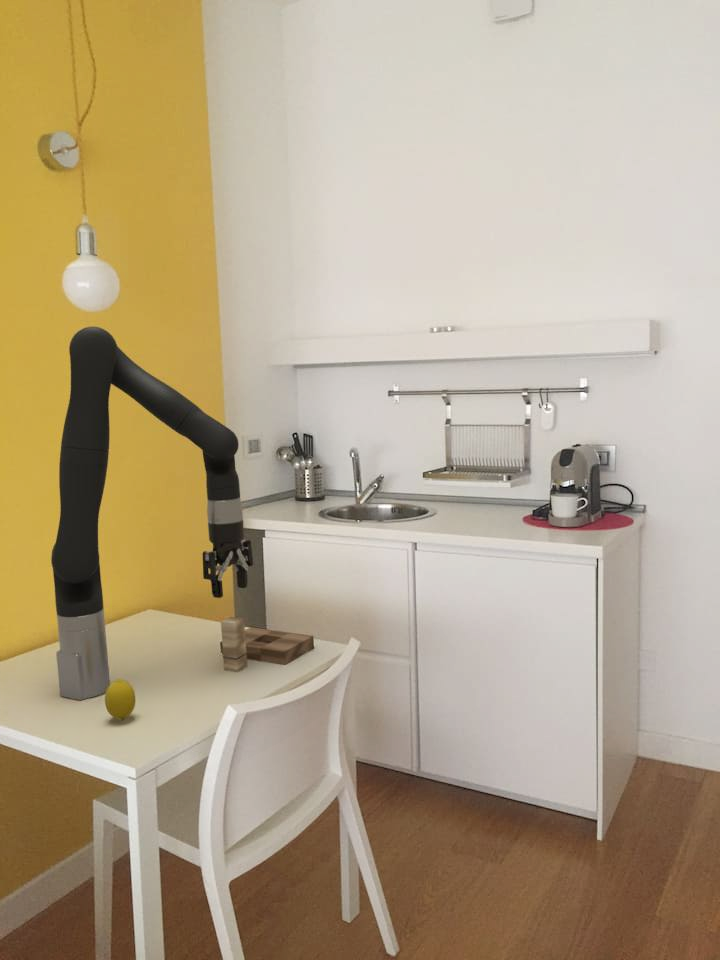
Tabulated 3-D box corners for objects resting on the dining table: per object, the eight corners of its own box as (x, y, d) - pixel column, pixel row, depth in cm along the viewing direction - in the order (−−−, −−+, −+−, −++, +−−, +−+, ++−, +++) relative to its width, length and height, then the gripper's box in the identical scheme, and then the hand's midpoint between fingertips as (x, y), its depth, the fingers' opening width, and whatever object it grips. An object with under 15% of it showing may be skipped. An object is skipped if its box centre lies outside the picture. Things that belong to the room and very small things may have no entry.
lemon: (138, 722, 155) (134, 682, 154) (107, 728, 154) (103, 687, 153) (135, 712, 161) (132, 672, 160) (106, 717, 159) (102, 677, 158)
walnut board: (284, 664, 183) (284, 651, 183) (220, 654, 192) (220, 642, 191) (314, 648, 193) (313, 635, 193) (252, 639, 202) (251, 627, 202)
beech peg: (237, 672, 180) (233, 623, 178) (223, 670, 182) (220, 621, 180) (247, 666, 183) (244, 618, 182) (234, 664, 185) (231, 616, 183)
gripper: (218, 526, 170) (223, 602, 172) (259, 514, 182) (263, 585, 184) (189, 524, 174) (195, 599, 176) (232, 512, 186) (237, 583, 188)
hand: (230, 592), depth 180 cm, fingers open, 8 cm apart
